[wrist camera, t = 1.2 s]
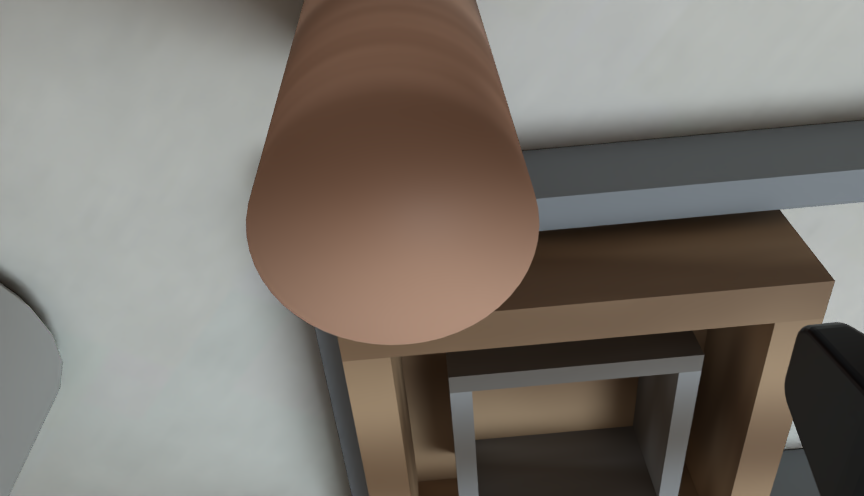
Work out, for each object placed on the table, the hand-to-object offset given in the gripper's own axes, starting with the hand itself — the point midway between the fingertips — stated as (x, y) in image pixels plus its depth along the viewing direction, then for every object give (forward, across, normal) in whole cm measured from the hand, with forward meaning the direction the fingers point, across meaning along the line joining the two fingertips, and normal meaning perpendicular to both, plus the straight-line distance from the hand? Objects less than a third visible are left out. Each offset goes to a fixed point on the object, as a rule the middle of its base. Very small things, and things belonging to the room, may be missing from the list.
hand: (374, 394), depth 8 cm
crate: (+13, -4, +12) cm, 18 cm away
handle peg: (+13, 0, 0) cm, 13 cm away
